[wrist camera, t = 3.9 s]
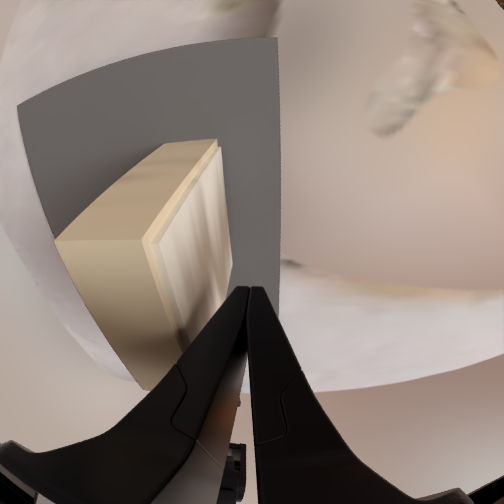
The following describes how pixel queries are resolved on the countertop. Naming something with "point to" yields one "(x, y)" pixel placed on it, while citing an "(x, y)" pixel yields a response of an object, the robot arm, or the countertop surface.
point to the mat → (169, 137)
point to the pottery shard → (501, 3)
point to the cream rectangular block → (154, 256)
